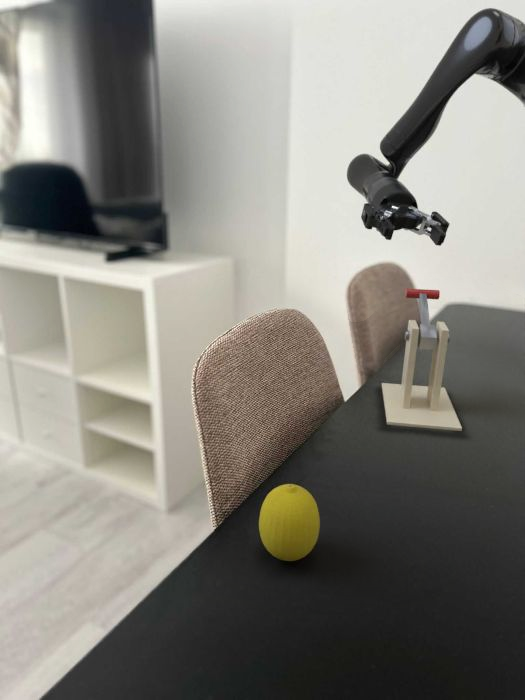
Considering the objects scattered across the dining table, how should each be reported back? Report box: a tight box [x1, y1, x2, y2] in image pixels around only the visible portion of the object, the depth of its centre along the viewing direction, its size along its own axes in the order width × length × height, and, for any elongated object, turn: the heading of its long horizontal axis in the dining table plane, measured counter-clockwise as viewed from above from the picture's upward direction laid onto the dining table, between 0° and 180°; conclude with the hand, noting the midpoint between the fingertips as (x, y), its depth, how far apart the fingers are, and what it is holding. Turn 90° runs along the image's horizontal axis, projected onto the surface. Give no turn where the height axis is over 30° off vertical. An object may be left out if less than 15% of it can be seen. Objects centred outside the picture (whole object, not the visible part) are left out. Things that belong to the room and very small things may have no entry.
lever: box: [404, 288, 441, 351], centre depth 77 cm, size 12×5×2 cm, turn 171°
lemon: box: [258, 483, 321, 562], centre depth 47 cm, size 6×6×8 cm
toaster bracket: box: [381, 319, 463, 432], centre depth 75 cm, size 14×10×14 cm
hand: (416, 237), depth 83 cm, fingers open, 8 cm apart
